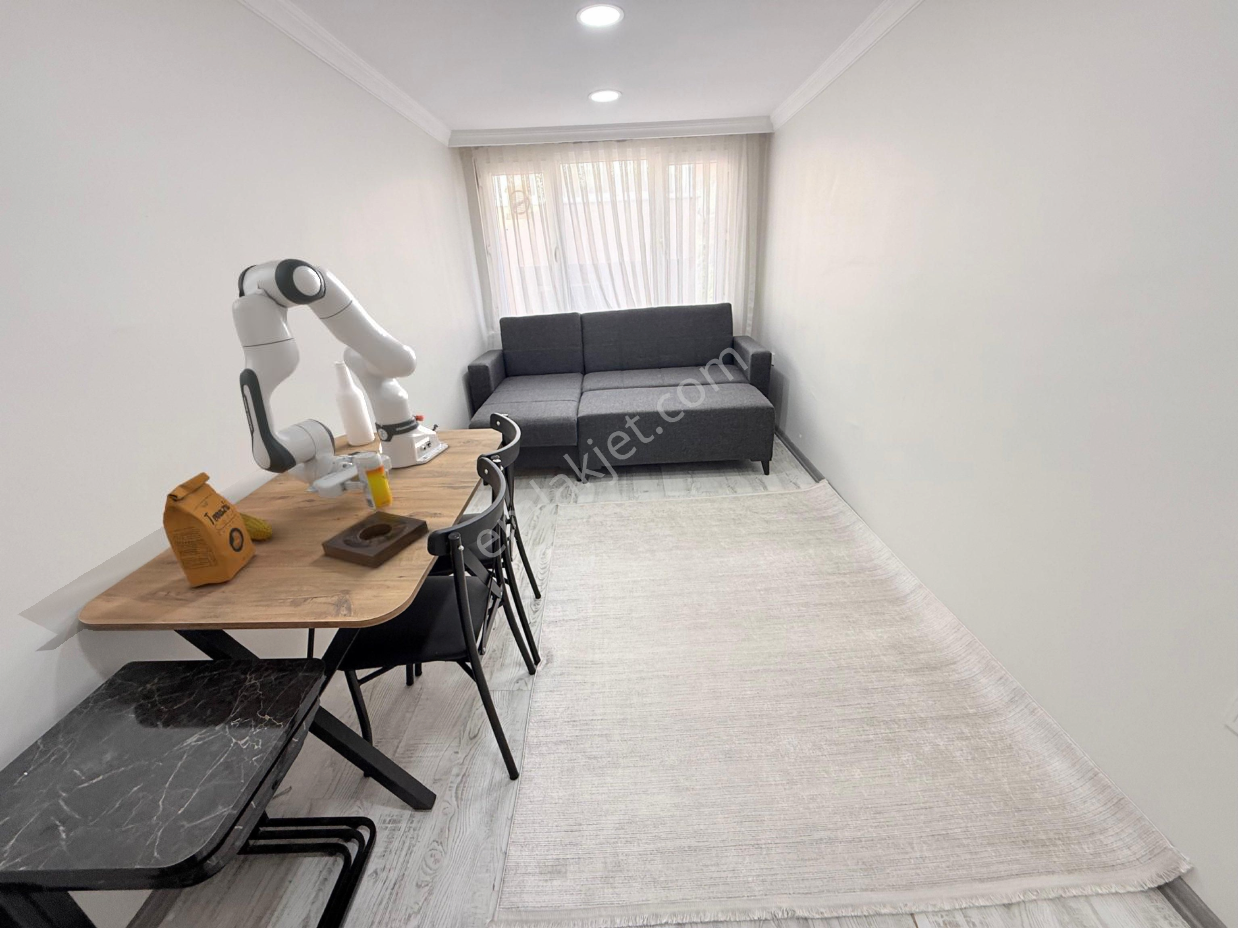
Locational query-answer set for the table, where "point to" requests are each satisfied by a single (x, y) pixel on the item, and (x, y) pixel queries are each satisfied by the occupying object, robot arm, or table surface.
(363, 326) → the robot arm
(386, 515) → the holder
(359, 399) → the alcohol
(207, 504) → the coffee package
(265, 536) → the food
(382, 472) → the beer can
